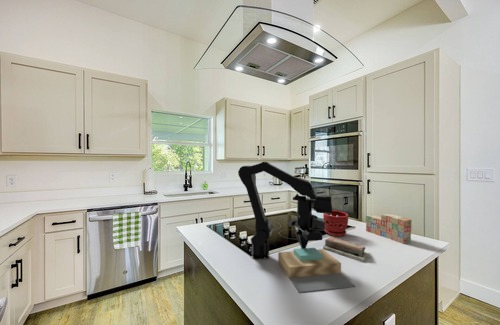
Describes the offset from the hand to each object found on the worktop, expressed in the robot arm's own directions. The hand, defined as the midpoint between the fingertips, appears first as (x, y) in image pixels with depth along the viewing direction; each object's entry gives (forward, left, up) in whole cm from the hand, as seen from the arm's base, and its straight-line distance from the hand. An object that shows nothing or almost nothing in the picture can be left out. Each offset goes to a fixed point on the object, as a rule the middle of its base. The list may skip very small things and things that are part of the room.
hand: (303, 249), depth 87 cm
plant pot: (+33, +28, -5) cm, 44 cm away
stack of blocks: (+60, +21, -6) cm, 64 cm away
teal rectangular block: (0, -4, -1) cm, 4 cm away
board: (0, -5, -5) cm, 7 cm away
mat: (0, -15, -5) cm, 15 cm away
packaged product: (+24, +6, -6) cm, 25 cm away
